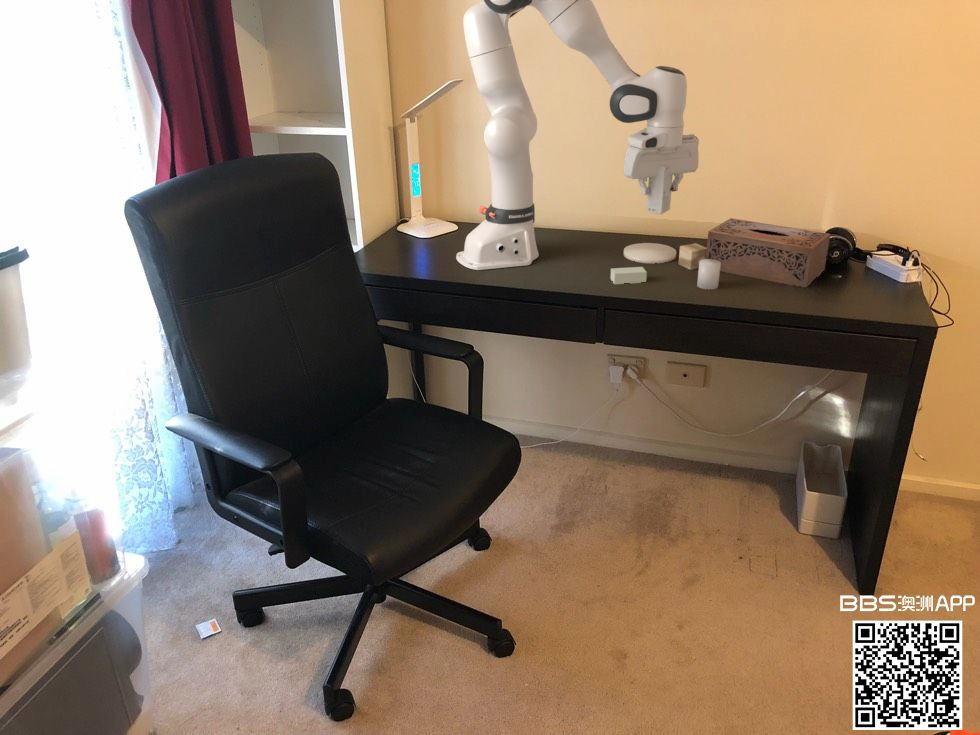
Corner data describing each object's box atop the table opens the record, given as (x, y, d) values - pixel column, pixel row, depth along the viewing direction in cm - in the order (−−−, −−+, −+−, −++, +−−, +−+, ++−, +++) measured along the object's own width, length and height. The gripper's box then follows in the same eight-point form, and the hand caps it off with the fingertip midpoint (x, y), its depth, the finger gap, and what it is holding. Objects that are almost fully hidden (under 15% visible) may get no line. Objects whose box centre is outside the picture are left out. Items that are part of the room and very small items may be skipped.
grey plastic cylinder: (705, 290, 192) (708, 267, 190) (692, 284, 196) (695, 261, 194) (722, 287, 194) (725, 263, 191) (709, 281, 198) (711, 257, 196)
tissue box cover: (824, 272, 203) (830, 233, 199) (805, 288, 193) (811, 248, 188) (726, 254, 217) (730, 218, 213) (704, 269, 207) (708, 231, 203)
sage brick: (614, 285, 198) (614, 273, 196) (610, 279, 201) (610, 268, 200) (645, 283, 198) (646, 272, 197) (641, 278, 202) (642, 266, 201)
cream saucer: (642, 266, 209) (642, 262, 208) (613, 251, 220) (613, 247, 220) (686, 258, 214) (687, 254, 213) (656, 244, 225) (656, 240, 225)
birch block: (690, 270, 206) (691, 251, 204) (678, 264, 210) (679, 246, 208) (705, 267, 208) (707, 248, 206) (693, 261, 212) (695, 243, 210)
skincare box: (661, 215, 202) (666, 166, 196) (645, 212, 204) (648, 164, 198) (670, 209, 206) (675, 162, 201) (654, 207, 209) (658, 160, 203)
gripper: (691, 131, 203) (685, 185, 209) (622, 138, 196) (618, 194, 202) (706, 135, 198) (700, 191, 204) (636, 142, 191) (632, 199, 197)
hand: (659, 192), depth 203 cm, fingers closed on skincare box, 7 cm apart
